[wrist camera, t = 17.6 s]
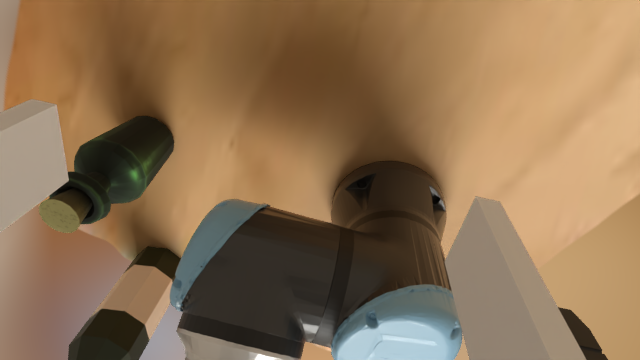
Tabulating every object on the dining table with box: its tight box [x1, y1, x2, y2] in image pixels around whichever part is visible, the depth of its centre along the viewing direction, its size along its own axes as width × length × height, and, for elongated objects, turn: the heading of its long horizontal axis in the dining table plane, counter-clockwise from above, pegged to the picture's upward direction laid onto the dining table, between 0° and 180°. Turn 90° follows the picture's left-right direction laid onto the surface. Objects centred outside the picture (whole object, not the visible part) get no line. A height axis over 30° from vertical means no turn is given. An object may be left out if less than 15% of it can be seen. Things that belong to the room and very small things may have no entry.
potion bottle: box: [39, 116, 174, 233], centre depth 44 cm, size 8×8×18 cm
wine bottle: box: [68, 247, 181, 360], centre depth 51 cm, size 8×8×30 cm
